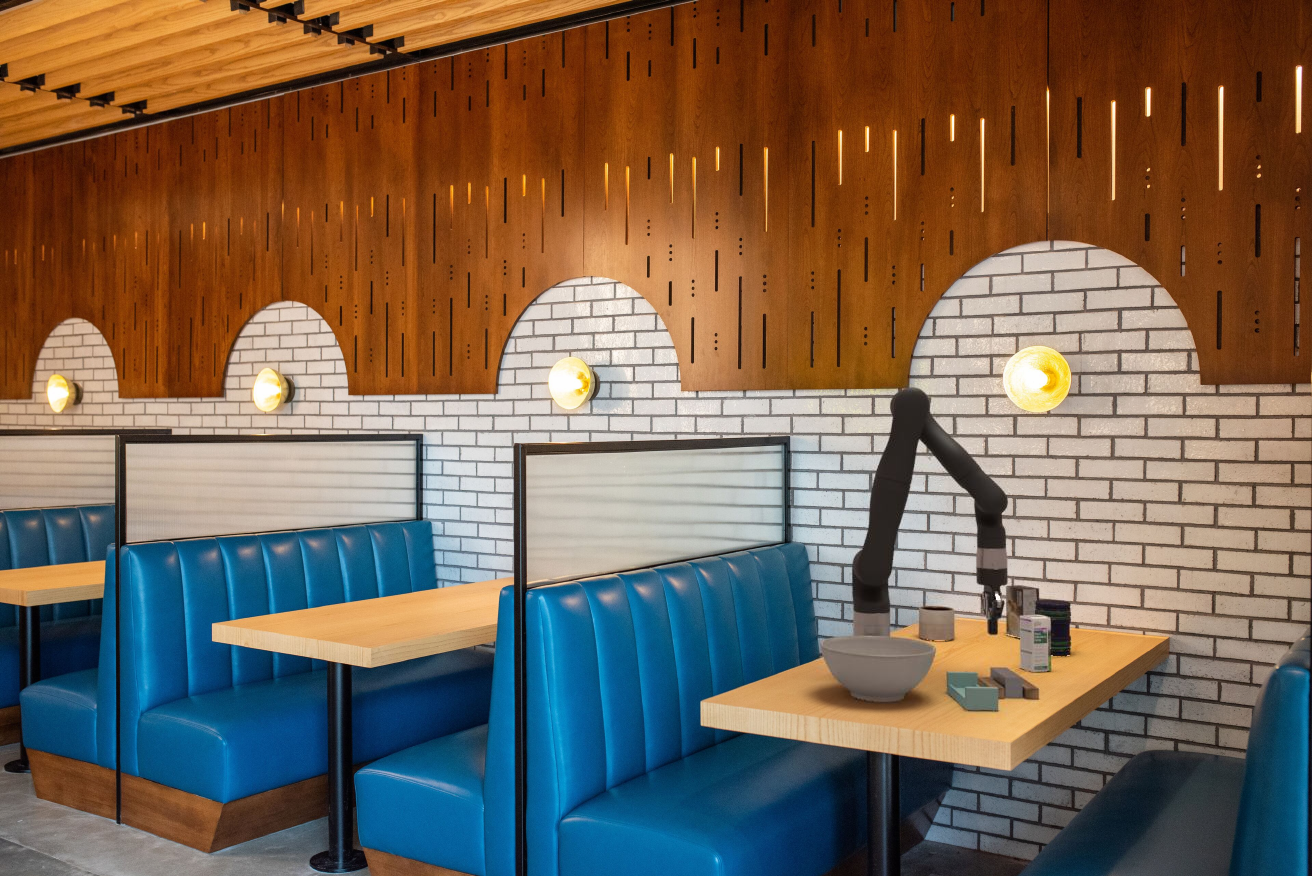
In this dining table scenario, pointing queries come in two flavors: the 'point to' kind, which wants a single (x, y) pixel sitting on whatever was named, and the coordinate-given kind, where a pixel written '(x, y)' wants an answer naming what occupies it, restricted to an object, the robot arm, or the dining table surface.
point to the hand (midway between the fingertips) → (992, 634)
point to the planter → (936, 623)
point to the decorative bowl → (878, 665)
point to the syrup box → (1035, 643)
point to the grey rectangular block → (1008, 681)
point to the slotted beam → (1028, 688)
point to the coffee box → (1019, 606)
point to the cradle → (971, 691)
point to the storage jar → (1057, 624)
